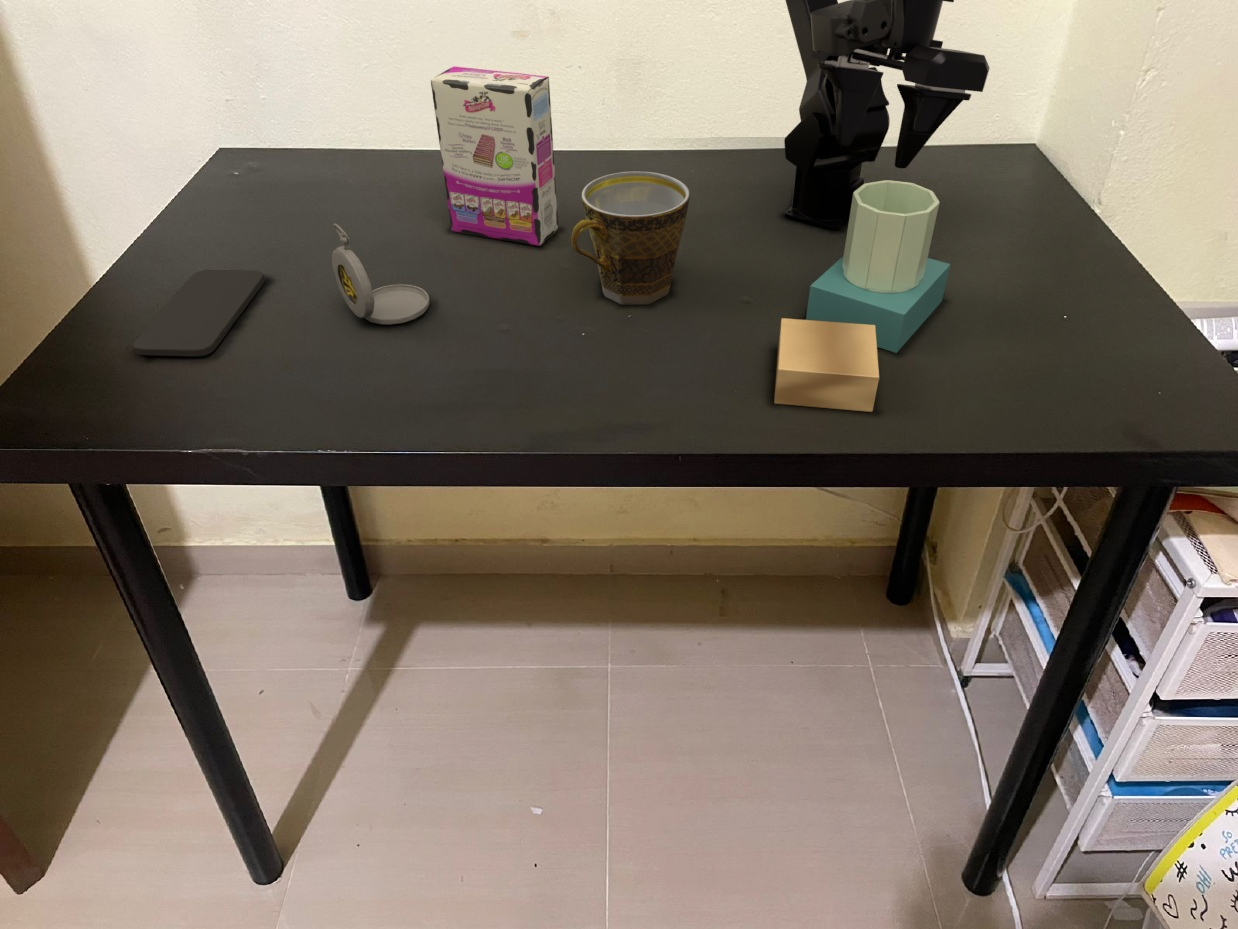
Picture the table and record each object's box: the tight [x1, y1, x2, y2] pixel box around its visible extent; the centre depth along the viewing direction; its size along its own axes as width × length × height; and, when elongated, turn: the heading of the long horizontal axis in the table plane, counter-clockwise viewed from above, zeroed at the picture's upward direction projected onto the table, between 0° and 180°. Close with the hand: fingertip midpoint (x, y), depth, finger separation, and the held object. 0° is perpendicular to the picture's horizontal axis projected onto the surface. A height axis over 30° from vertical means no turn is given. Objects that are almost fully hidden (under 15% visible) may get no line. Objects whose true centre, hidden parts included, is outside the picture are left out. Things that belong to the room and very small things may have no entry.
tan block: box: [773, 317, 880, 413], centre depth 80 cm, size 8×8×4 cm
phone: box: [132, 269, 266, 357], centre depth 90 cm, size 7×1×15 cm
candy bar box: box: [430, 66, 559, 247], centre depth 98 cm, size 11×5×16 cm, turn 68°
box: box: [805, 255, 951, 354], centre depth 88 cm, size 9×11×4 cm
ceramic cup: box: [570, 171, 691, 306], centre depth 89 cm, size 13×10×10 cm
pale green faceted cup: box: [842, 179, 940, 293], centre depth 84 cm, size 7×7×8 cm
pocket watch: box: [331, 222, 430, 326], centre depth 87 cm, size 8×8×10 cm
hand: (870, 156), depth 88 cm, fingers open, 9 cm apart
